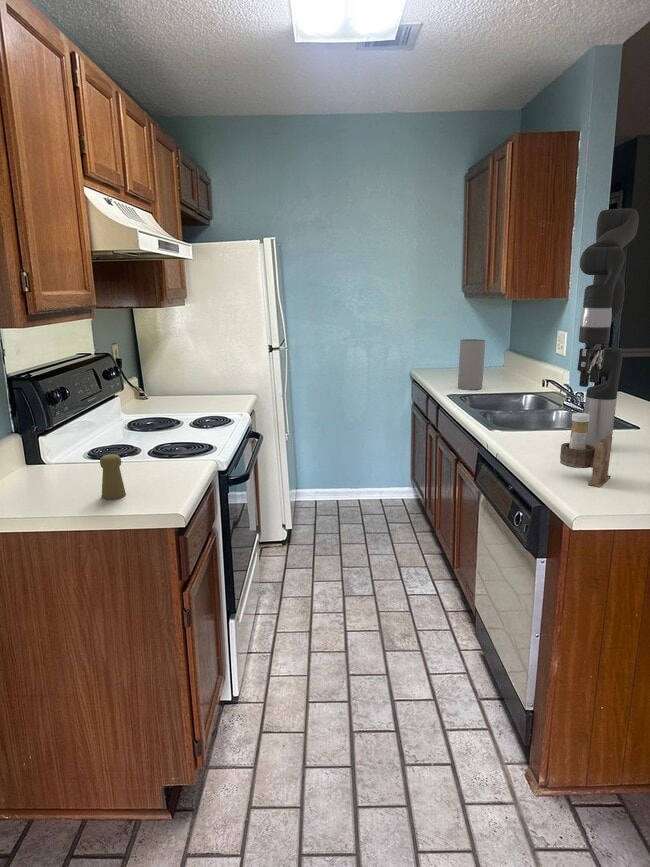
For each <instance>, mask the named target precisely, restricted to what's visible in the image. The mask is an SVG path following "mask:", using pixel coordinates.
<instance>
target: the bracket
mask: <svg viewBox="0 0 650 867" xmlns="http://www.w3.org/2000/svg"><path fill="white" fill-rule="evenodd" d="M612 442H613V436H612V437H608V436H606V437H605V438H603V439H602V440H600V441H599V442H597V443H596V446H595V447H594V446H591V445H588V444H587V445H586V450H576V449H571V448H569V445H570V442H563V443H562V444H561V445H560V446H561V447H560V456H559V459H560V462H559V463H560V464H562V465H563V466H565V467H569V468H574V469H590V468H591V469H592V474H591V480H590V481H588V483H587V485H588V487H589V486H590V487H594V488H601V487H602V486H604V484H606V483H607V482H608V481H609V480H611V475H609V467H610V459H611V451H612V444H613V443H612Z"/></svg>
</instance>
